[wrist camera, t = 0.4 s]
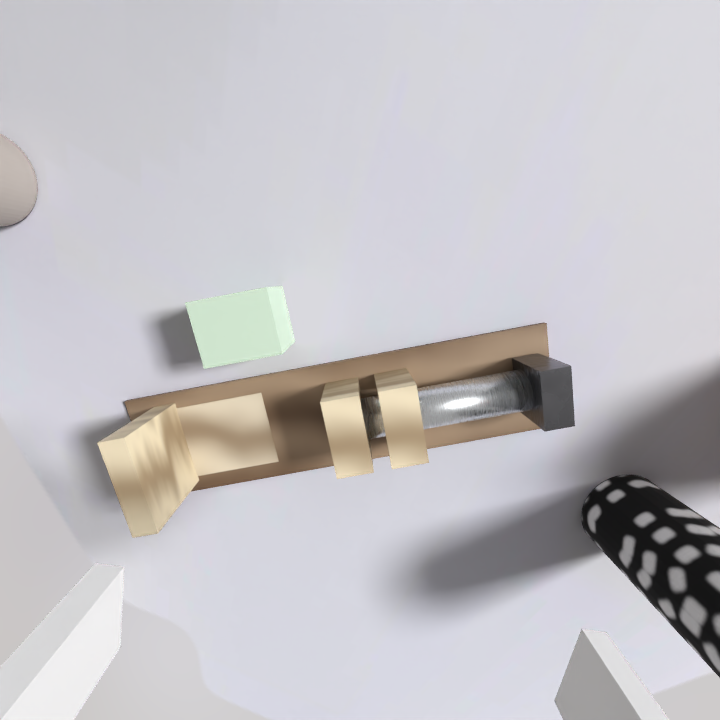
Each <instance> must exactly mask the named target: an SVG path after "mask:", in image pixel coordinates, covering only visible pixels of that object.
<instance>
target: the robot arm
mask: <svg viewBox="0 0 720 720" xmlns="http://www.w3.org/2000/svg"><path fill="white" fill-rule="evenodd" d="M123 584H124V567H123V566H116V565H108V564H101V563H95V564H94V565H93V566H92V567H91V568H90V569H89V571H88V572H87V573H86V574H85V575H84V576H83V577H82V578H81V579H80V580H79V581H78V583H77V584H76V585H75V586H74V587H73V588H72V589H71V590H70V591H69V592H68V593H67V594H66V596H65V597H64V598H63V599H62V600H61V601H60V602H59V603H58V604H57V605H56V606H55V608H54V609H53V610H52V611H51V612H50V613H49V614H48V615H47V616H46V617H45V618H44V619H43V621H42V622H41V623H40V624H39V625H38V626H37V627H36V628H35V629H34V630H33V631H32V632H31V634H30V635H29V636H28V637H27V638H26V639H25V640H24V641H23V642H22V643H21V644H20V646H19V647H18V648H17V649H16V650H15V651H14V652H13V653H12V654H11V655H10V656H9V657H8V659H7V660H6V661H5V662H4V663H3V664H2V665H1V666H0V720H74V719H75V717H76V716H77V714H78V713H79V711H80V710H81V708H82V706H83V705H84V703H85V702H86V700H87V698H88V697H89V695H90V694H91V692H92V691H93V689H94V688H95V686H96V685H97V683H98V681H99V680H100V678H101V677H102V675H103V674H104V672H105V670H106V669H107V667H108V666H109V664H110V663H111V661H112V660H113V658H114V656H115V655H116V653H117V652H118V650H119V649H120V644H121V624H122V604H123ZM555 703H556V705H557V707H558V710H559V712H560V714H561V716H562V718H563V720H669V718H668V717H667V715H666V714H665V713H664V711H663V710H662V708H661V707H660V706H659V705H658V703H657V702H656V700H655V699H654V697H653V696H652V695H651V693H650V692H649V690H648V689H647V688H646V686H645V685H644V684H643V682H642V681H641V679H640V678H639V677H638V675H637V674H636V672H635V671H634V670H633V668H632V667H631V666H630V664H629V663H628V661H627V660H626V659H625V657H624V656H623V654H622V653H621V652H620V650H619V649H618V648H617V646H616V645H615V643H614V642H613V641H612V639H611V638H610V636H609V635H608V634H607V632H602V631H594V630H587V629H581V632H580V634H579V637H578V640H577V642H576V645H575V648H574V650H573V653H572V656H571V658H570V661H569V664H568V666H567V669H566V672H565V674H564V677H563V679H562V682H561V685H560V687H559V690H558V693H557V695H556V698H555Z"/></svg>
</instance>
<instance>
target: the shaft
mask: <svg viewBox="0 0 720 720" xmlns="http://www.w3.org/2000/svg"><path fill="white" fill-rule="evenodd" d="M512 365H513V371H509V372H503V373H498V374H492V375H487V376H482V377H476V378H471V379H465V380H460V381H454V382H449V383H443V384H438V385H432V386H427V387H422V388H417V391H418V397H419V403H420V410H421V416H422V422H423V428H424V429H429V428H435V427H440V426H446V425H452V424H457V423H463V422H468V421H474V420H479V419H485V418H490V417H496V416H501V415H507V414H512V413H518V412H521V413H522V414H523V415H524V416H526V417H527V418H528V419H530V420H531V421H532V422H533V423H535V424H536V425H537V426H538V427H540V428H541V429H542V430H544V431H550V430H555V429H561V428H566V427H572V426H575V422H574V405H573V389H572V372H571V366H570V365H568V364H565V363H562V362H560V361H557V360H555V359H552V358H549V357H547V356H544V355H542V354H539V353H536V354H531V355H525V356H520V357H515V358H512ZM361 407H362V413H363V418H364V423H365V428H366V433H367V438H368V440H369V439H374V438H380V437H385V436H386V434H385V429H384V423H383V418H382V413H381V407H380V402H379V397H378V396H372V397H367V398H362V399H361Z"/></svg>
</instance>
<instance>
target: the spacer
mask: <svg viewBox="0 0 720 720" xmlns="http://www.w3.org/2000/svg"><path fill="white" fill-rule="evenodd" d="M185 304H186V308H187V311H188V315H189V318H190V322H191V325H192V329H193V332H194V336H195V339H196V343H197V346H198V349H199V353H200V356H201V360H202V363H203V367H204V369H207V368H212V367H217V366H223V365H228V364H233V363H239V362H244V361H249V360H255V359H260V358H265V357H271V356H276V355H281V354H283V353H284V352H285V351H286V350H287V349H288V348H289V347H290V346H291V345H292V344H293V343H294V342H295V339H294V335H293V330H292V326H291V321H290V317H289V313H288V308H287V304H286V300H285V295H284V291H283V286H277V287H264V288H259V289H254V290H249V291H244V292H238V293H233V294H228V295H223V296H217V297H212V298H207V299H202V300H197V301H191V302H186V303H185Z"/></svg>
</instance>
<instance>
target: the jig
mask: <svg viewBox="0 0 720 720" xmlns="http://www.w3.org/2000/svg"><path fill="white" fill-rule="evenodd" d="M536 353H539V354H542V355H544V356H547V357H549V349H548V336H547V323H539V324H534V325H528V326H523V327H518V328H512V329H507V330H502V331H496V332H491V333H485V334H480V335H475V336H469V337H464V338H459V339H453V340H448V341H442V342H437V343H432V344H426V345H421V346H416V347H410V348H405V349H399V350H394V351H389V352H383V353H378V354H373V355H367V356H362V357H356V358H351V359H346V360H340V361H335V362H330V363H324V364H319V365H313V366H308V367H303V368H297V369H292V370H287V371H281V372H276V373H270V374H265V375H260V376H254V377H249V378H244V379H238V380H233V381H227V382H222V383H217V384H211V385H206V386H201V387H195V388H190V389H185V390H179V391H174V392H168V393H163V394H158V395H152V396H147V397H142V398H136V399H131V400H127V401H125V405H126V408H127V411H128V414H129V417H130V420H131V422H130V423H128V424H126V425H125V426H123V427H122V428H120V429H118V430H117V431H115V432H114V433H112V434H110V435H109V436H107V437H106V438H104V439H102V440H101V441H99V442H98V443H97V444H98V446H99V449H100V452H101V454H102V457H103V460H104V462H105V465H106V468H107V470H108V473H109V476H110V478H111V481H112V484H113V487H114V489H115V492H116V495H117V497H118V500H119V503H120V505H121V508H122V511H123V513H124V516H125V519H126V521H127V524H128V527H129V529H130V532H131V535H132V537H133V538H135V537H141V536H146V535H152V534H157V533H159V531H160V530H161V529H162V528H163V526H164V525H165V524H166V522H167V521H168V520H169V519H170V517H171V516H172V515H173V513H174V512H175V511H176V510H177V508H178V507H179V506H180V504H181V503H182V502H183V501H184V499H185V498H186V497H187V495H188V494H189V493H190V492H191V491H196V490H201V489H207V488H213V487H218V486H224V485H229V484H235V483H240V482H246V481H252V480H257V479H263V478H268V477H274V476H279V475H285V474H291V473H296V472H302V471H307V470H313V469H318V468H324V467H330V466H334V467H335V472H336V476H337V479H340V478H346V477H352V476H357V475H363V474H368V473H374V471H373V461H372V459H374V458H380V457H385V456H389V457H390V462H391V467H392V469H396V468H402V467H408V466H413V465H419V464H424V463H429V460H428V454H427V449H430V448H435V447H441V446H447V445H452V444H458V443H463V442H469V441H474V440H480V439H486V438H491V437H497V436H502V435H508V434H513V433H519V432H525V431H530V430H536V429H541V428H540V427H538V426H537V425H536V424H535V423H533V422H532V421H531V420H530V419H528V418H527V417H526V416H524V415H523V414H522V413H521V412H518V413H512V414H507V415H501V416H496V417H490V418H485V419H479V420H474V421H468V422H463V423H457V424H452V425H446V426H440V427H435V428H429V429H424V428H423V422H422V416H421V410H420V403H419V397H418V391H417V388H422V387H427V386H432V385H438V384H443V383H449V382H454V381H460V380H465V379H471V378H476V377H482V376H487V375H492V374H498V373H503V372H509V371H513V365H512V358H515V357H520V356H525V355H531V354H536ZM372 396H378V397H379V402H380V407H381V413H382V418H383V423H384V429H385V434H386V436H385V437H380V438H374V439H369V440H368V438H367V433H366V428H365V423H364V418H363V413H362V407H361V399H362V398H367V397H372Z"/></svg>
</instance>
